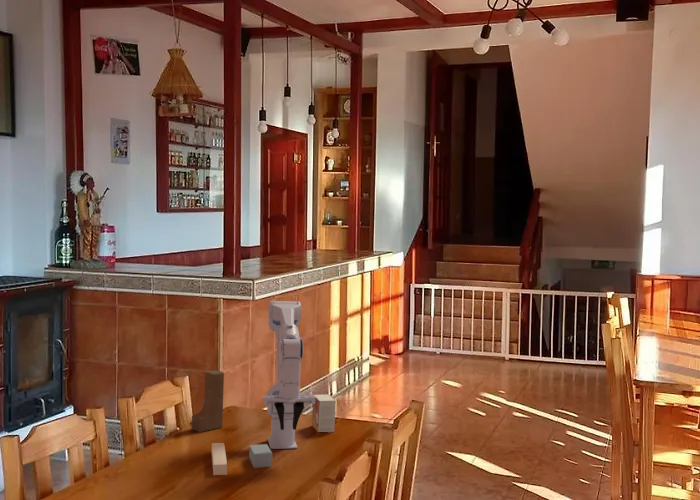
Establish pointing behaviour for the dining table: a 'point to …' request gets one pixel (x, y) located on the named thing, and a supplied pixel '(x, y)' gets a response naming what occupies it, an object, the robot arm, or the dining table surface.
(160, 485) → the dining table surface
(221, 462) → the beige rectangular bar
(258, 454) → the block
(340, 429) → the dining table surface
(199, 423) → the wooden block
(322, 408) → the small box
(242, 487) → the dining table surface
